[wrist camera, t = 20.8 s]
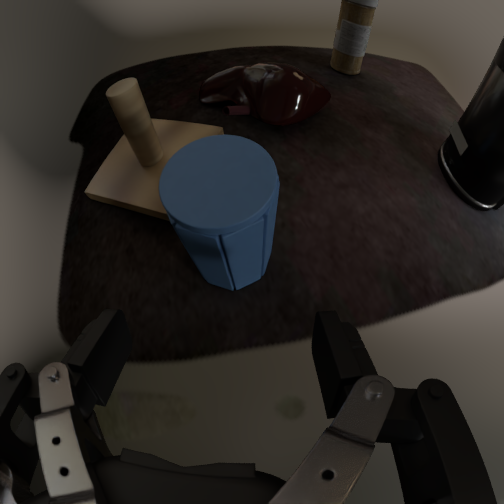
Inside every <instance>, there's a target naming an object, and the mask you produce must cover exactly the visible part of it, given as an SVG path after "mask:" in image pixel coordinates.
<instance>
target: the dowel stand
mask: <svg viewBox="0 0 504 504" xmlns="http://www.w3.org/2000/svg"><path fill="white" fill-rule="evenodd" d="M106 96H107V98H108V100H109V103H110V105H111V107H112V109H113V111H114V113H115V115H116V118H117V120H118V122H119V124H120V126H121V128H122V130H123V132H124V135H123V136H122V138H121V139H120V140H119V142H118V143H117V144H116V146H115V147H114V148H113V150H112V151H111V153H110V154H109V155H108V157H107V158H106V160H105V161H104V163H103V164H102V165H101V167H100V168H99V170H98V171H97V173H96V175H95V176H94V178H93V179H92V181H91V182H90V184H89V185H88V187H87V189H86V190H85V193H86V194H87V196H88V197H89V198H90V199H93V200H97V201H100V202H104V203H107V204H111V205H115V206H118V207H122V208H125V209H129V210H132V211H136V212H139V213H143V214H146V215H150V216H153V217H157V218H161V219H164V220H168V221H170V220H169V217H168V215H167V212H166V210H165V208H164V206H163V204H162V202H161V199H160V196H159V180H160V176H161V173H162V170H163V168H164V167H165V165H166V163H167V162H168V160H169V159H170V158H171V157H172V156H173V155H174V154H175V153H176V152H177V151H178V150H180V149H181V148H182V147H184V146H185V145H187V144H189V143H191V142H193V141H195V140H198V139H201V138H204V137H208V136H213V135H224V133H223V127H217V126H211V125H204V124H197V123H189V122H181V121H171V120H161V119H151V118H150V115H149V113H148V110H147V107H146V104H145V102H144V99H143V96H142V93H141V90H140V88H139V85H138V82H137V80H136V79H135V78H126V79H123V80H121V81H118V82H117V83H115V84H113V85H112V86H111V87H110V88H109V89H108V90H107V92H106Z"/></svg>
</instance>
